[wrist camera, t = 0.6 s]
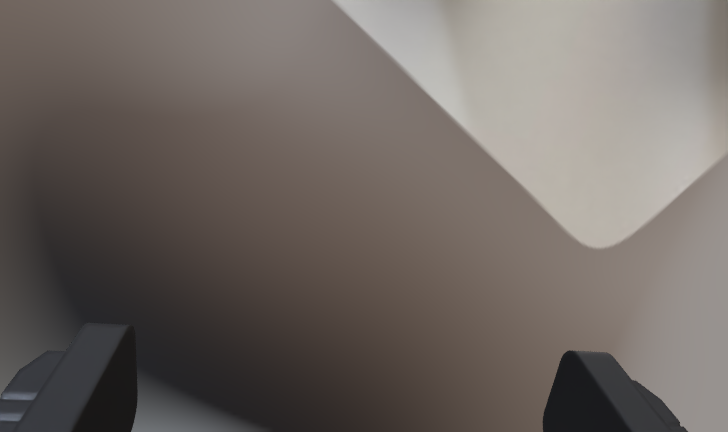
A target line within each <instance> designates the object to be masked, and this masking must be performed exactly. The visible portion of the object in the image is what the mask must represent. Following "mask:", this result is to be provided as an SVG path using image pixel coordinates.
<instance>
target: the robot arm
mask: <svg viewBox="0 0 728 432" xmlns="http://www.w3.org/2000/svg"><path fill="white" fill-rule="evenodd" d="M136 408H137V368H136V343H135V331H134V327H133V326H132V325H120V324H103V323H85V324H84V325H83V326H82V328H81V329H80V331H79V332H78V334H77V335H76V336H75V338H74V340H73V341H72V342H71V344H70V346H69V347H68V349H67V350H66V351H47V352H45V353H44V354H42V355H41V356H40V357H38V358H36V359H35V360H33V361H32V362H30V363H29V364H28V365H26V366H25V367H23V368H22V369H20V370H19V371H18V373H17V374H16V375H15V377H14V378H13V379H12V381H11V382H10V383H9V385H8V386H7V387H6V389H5V390H4V391H3V392H2V394H1V398H0V432H131V430H132V427H133V423H134V418H135V414H136ZM543 432H688V431H687V430H686V429H685V428H684V427H681V426H680V422H679V420H678V419H677V418H676V417H675V416H674V414H673V413H672V412H671V411H670V410H669V409H668V407H667V406H666V405H665V404H664V403H663V401H662V400H661V399H659V398H658V397H657V396H655V395H654V394H653V393H651V392H650V391H649V390H647V389H646V388H645V387H644V386H642V385H641V384H639V383H638V382H637V381H634V380H631V379H630V377H629V376H628V375H627V373H626V372H625V371H624V370H623V368H622V367H621V366H620V365H619V363H618V362H617V361H616V360H615V359H614V358H613V356H612V355H610V354H609V353H605V352H586V351H567V352H566V353H565V354H564V355H563V356H562V358H561V361H560V364H559V367H558V370H557V374H556V377H555V380H554V383H553V386H552V389H551V392H550V395H549V398H548V402H547V405H546V408H545V411H544V416H543Z"/></svg>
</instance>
